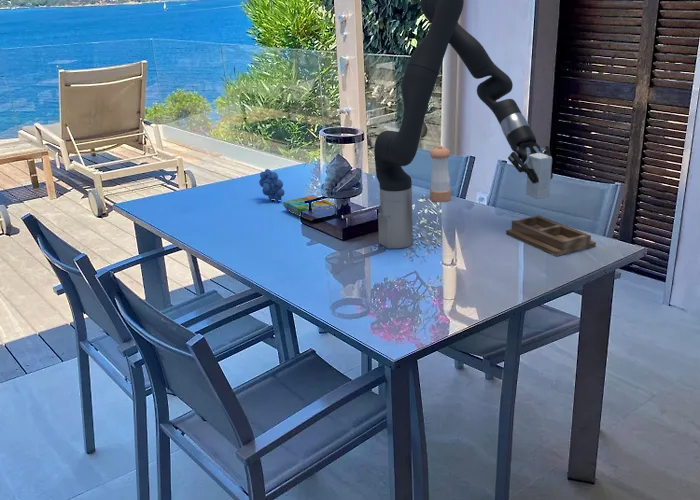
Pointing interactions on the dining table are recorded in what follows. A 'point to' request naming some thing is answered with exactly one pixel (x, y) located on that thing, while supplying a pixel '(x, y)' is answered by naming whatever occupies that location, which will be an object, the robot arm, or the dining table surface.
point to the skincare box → (540, 176)
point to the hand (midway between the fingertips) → (543, 180)
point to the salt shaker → (440, 175)
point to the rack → (549, 235)
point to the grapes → (271, 185)
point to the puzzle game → (304, 204)
